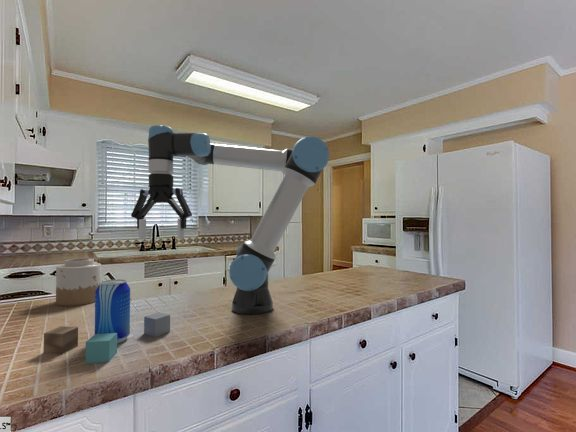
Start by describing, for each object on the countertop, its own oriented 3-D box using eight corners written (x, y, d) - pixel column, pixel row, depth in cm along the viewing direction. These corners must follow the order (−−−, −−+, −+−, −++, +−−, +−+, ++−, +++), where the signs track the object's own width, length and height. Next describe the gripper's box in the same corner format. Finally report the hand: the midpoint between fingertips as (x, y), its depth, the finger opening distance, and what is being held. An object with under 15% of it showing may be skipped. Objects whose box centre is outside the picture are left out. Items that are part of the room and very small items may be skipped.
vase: (46, 303, 123) (47, 260, 123) (84, 295, 137) (85, 256, 137) (72, 308, 117) (73, 263, 117) (109, 298, 131) (110, 258, 131)
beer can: (104, 335, 90) (104, 278, 90) (134, 334, 91) (135, 278, 91) (87, 347, 81) (88, 285, 82) (121, 346, 82) (122, 284, 82)
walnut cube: (77, 346, 82) (78, 326, 82) (62, 354, 77) (62, 333, 77) (60, 345, 83) (60, 326, 83) (43, 353, 78) (43, 333, 78)
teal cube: (116, 353, 78) (117, 332, 78) (109, 362, 73) (109, 340, 73) (94, 354, 77) (95, 334, 77) (85, 363, 72) (85, 341, 72)
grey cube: (170, 331, 93) (170, 314, 93) (155, 337, 89) (155, 319, 89) (158, 328, 95) (159, 312, 96) (144, 333, 91) (144, 316, 91)
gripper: (201, 174, 105) (202, 238, 105) (134, 177, 109) (134, 238, 109) (191, 171, 98) (191, 239, 97) (119, 174, 102) (119, 239, 101)
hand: (161, 239), depth 103 cm, fingers open, 13 cm apart
